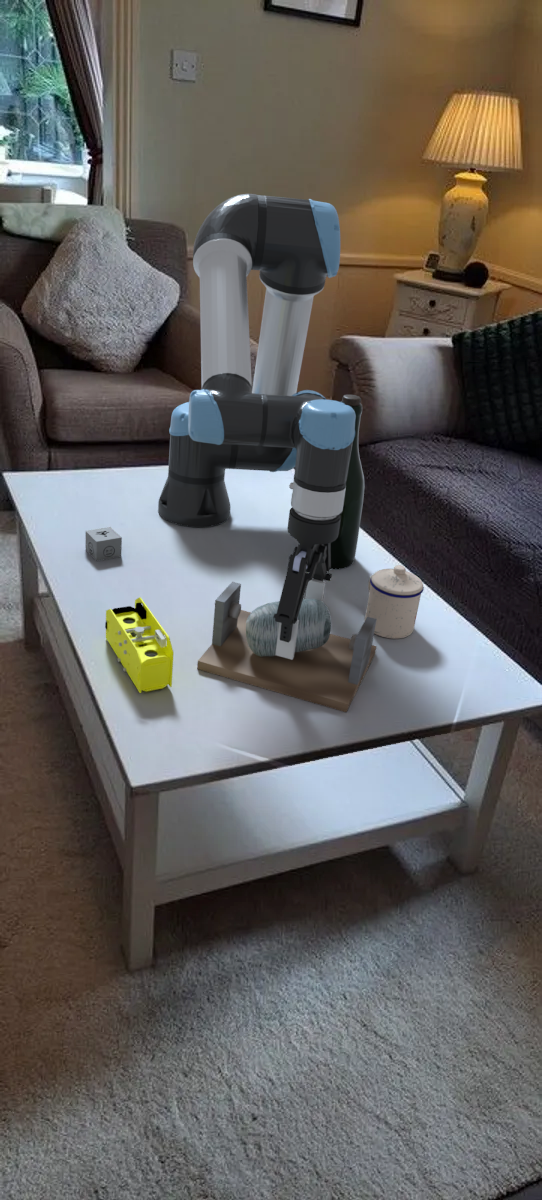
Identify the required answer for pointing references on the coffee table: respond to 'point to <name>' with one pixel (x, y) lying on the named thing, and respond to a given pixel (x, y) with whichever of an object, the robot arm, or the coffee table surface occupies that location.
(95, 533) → the dice cube
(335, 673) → the roll holder
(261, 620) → the grey egg-shaped piece
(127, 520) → the coffee table surface
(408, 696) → the coffee table surface
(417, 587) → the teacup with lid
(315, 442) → the robot arm
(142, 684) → the yellow toy chassis
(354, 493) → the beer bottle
